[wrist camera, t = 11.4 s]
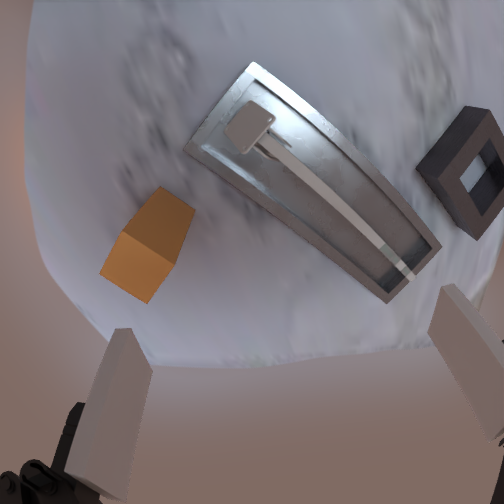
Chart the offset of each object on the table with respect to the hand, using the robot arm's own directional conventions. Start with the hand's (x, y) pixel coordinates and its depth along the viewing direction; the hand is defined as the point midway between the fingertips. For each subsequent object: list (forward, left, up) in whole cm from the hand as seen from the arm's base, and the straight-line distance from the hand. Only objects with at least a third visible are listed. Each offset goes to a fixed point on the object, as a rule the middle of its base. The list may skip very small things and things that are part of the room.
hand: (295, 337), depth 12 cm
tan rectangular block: (-6, -7, -18) cm, 20 cm away
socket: (+15, +17, -18) cm, 29 cm away
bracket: (+5, +4, -17) cm, 18 cm away
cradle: (+5, +4, -18) cm, 19 cm away
